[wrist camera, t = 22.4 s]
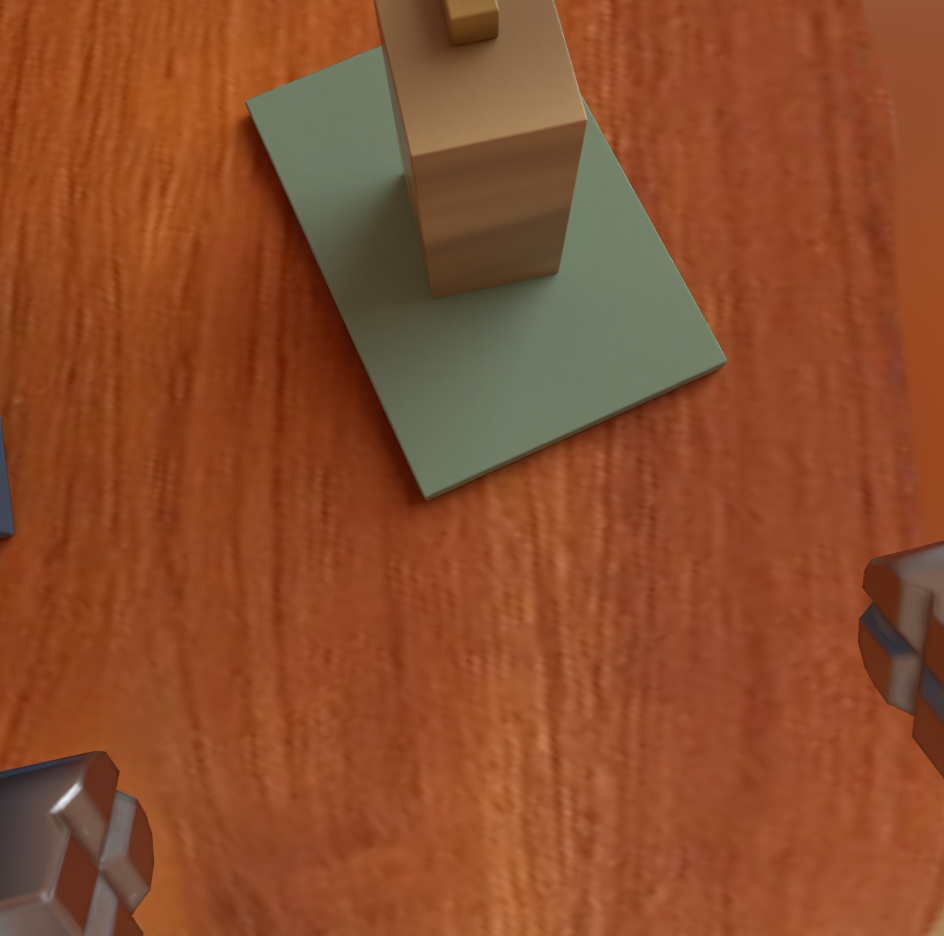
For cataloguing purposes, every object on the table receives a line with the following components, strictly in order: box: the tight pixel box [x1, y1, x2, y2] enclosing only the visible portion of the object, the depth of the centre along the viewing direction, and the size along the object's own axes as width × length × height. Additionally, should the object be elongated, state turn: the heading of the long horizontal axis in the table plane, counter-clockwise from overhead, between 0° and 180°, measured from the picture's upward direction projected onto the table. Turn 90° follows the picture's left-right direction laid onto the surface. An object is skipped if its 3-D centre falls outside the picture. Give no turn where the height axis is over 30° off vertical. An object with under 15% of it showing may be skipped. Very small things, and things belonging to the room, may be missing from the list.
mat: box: [245, 46, 727, 501], centre depth 25 cm, size 13×9×1 cm
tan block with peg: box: [374, 0, 588, 299], centre depth 21 cm, size 5×4×8 cm, turn 13°
